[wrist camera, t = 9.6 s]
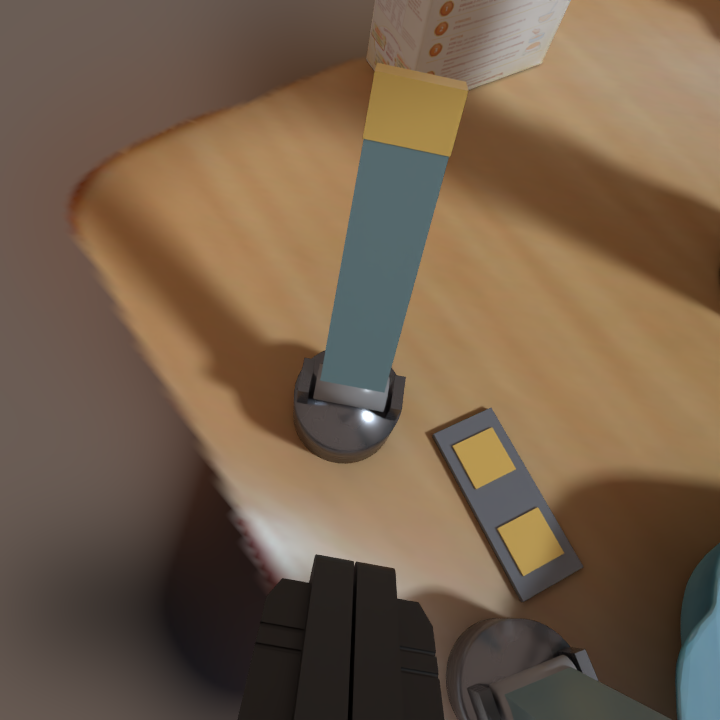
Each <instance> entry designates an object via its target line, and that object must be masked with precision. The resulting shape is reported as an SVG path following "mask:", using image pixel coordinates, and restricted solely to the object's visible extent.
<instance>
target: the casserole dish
mask: <svg viewBox="0 0 720 720" xmlns="http://www.w3.org/2000/svg"><path fill="white" fill-rule="evenodd" d="M681 645H682V647H681V649H680V652H679V655H678V660H677V664H676V677H675V686H676V709H677V720H720V543H719V544H717V545H716V546H715V547H714V548H713V549H712V550H711V551H710V552H708V553H707V554H706V555H705V556H704V558H703V559H702V560H701V561H700V563H699V564H698V565H697V566H696V568H695V569H694V571H693V572H692V574H691V576H690V578H689V580H688V582H687V586H686V589H685V593H684V598H683V603H682V610H681Z"/></svg>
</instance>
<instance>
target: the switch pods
mask: <svg viewBox="0 0 720 720" xmlns="http://www.w3.org/2000/svg"><path fill="white" fill-rule="evenodd" d="M325 351H326V350H325ZM325 351H323V352H321V353H319V354H317V355H316V356H314V357H313V358H312V359H309V358H305V359H304V363H303V368H302V370H301V372H300V374H299V376H298V378H297V381H296V385H295V391H294V410H293V418H294V424H295V428H296V431H297V434H298V436H299V437H300V439H301V441H302V442H303V444H304V445H305V446H306V447H307V448H308V449H309V450H310V451H311V452H313V453H314V454H315V455H317V456H318V457H320V458H322V459H325V460H327V461H331V462H335V463H354V462H358V461H361V460H364V459H366V458H368V457H370V456H371V455H373V454H374V453H376V452H377V451H378V450H379V449H380V448H381V447H382V446H383V444H384V443H385V441H386V440H387V438H388V436H389V435H390V433H391V431H392V430H393V428H394V426H395V425H396V423H397V421H398V419H399V416H400V414H401V410H402V403H403V394H404V386H405V379H406V377H403V376H398V375H396V374H395V372H394V370H393V369H392V368H391V370H390V374H389V379H390V381H389V390H388V395H387V400H386V405H385V408H384V411H383V412H380V411H375V410H370V409H364V408H359V407H354V406H348V405H343V404H338V403H333V402H327V401H322V400H317V399H313V396H314V391H315V385H316V380H317V375H318V370H319V366H320V364H322V365H323V362H324V356H325ZM560 655H565V656H567V657H568V658H569V659H570V660H571V661H572V663H573V664H574V666H575V667H576V669H577V670H578V671H580V672H581V673H583V674H585V675H587V676H589V677H591V678H593V679H595V680H597V681H598V679H597V676H596V674H595V671H594V669H593V667H592V664H591V662H590V659H589V657H588V654H587V652H586V650H585V649H579V648H571V647H570V646H569V645H568V643H567V642H566V641H565V640H564V639H563V638H562V637H561V636H560V635H559V634H557V633H556V632H555V631H554V630H552V629H551V628H549V627H547V626H546V625H543V624H541V623H539V622H536V621H533V620H527V619H504V618H493V619H487V620H483V621H480V622H478V623H476V624H474V625H472V626H471V627H469V628H468V629H467V630H466V631H465V632H464V633H463V634H462V635H461V636H460V637H459V638H458V640H457V641H456V643H455V645H454V647H453V649H452V651H451V653H450V656H449V660H448V664H447V672H446V685H447V692H448V696H449V700H450V703H451V706H452V708H453V711H454V713H455V715H456V716H457V718H458V720H501V717H500V715H499V712H498V709H497V706H496V703H495V701H494V698H493V695H492V692H491V689H490V688H489V684H492V683H494V682H496V681H499V680H501V679H504V678H506V677H509V676H511V675H514V674H516V673H519V672H521V671H523V670H526V669H528V668H531V667H533V666H536V665H538V664H541V663H543V662H546V661H548V660H551V659H553V658H555V657H558V656H560Z"/></svg>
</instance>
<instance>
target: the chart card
mask: <svg viewBox="0 0 720 720" xmlns="http://www.w3.org/2000/svg"><path fill="white" fill-rule="evenodd" d="M432 436H433V438H434V440H435V442H436V444H437V446H438V447H439V449H440V451H441V453H442V455H443V457H444V459H445V461H446V462H447V464H448V466H449V468H450V470H451V472H452V474H453V475H454V477H455V479H456V481H457V483H458V485H459V487H460V489H461V490H462V492H463V494H464V496H465V498H466V500H467V502H468V504H469V505H470V507H471V509H472V511H473V513H474V515H475V517H476V518H477V520H478V522H479V524H480V526H481V528H482V530H483V532H484V533H485V535H486V537H487V539H488V541H489V543H490V545H491V547H492V548H493V550H494V552H495V554H496V556H497V558H498V560H499V561H500V563H501V565H502V567H503V569H504V571H505V573H506V575H507V576H508V578H509V580H510V582H511V584H512V586H513V588H514V590H515V591H516V593H517V595H518V597H519V599H520V601H521V602H524V601H526V600H527V599H529V598H531V597H533V596H534V595H536V594H538V593H539V592H541V591H543V590H545V589H546V588H548V587H550V586H552V585H553V584H555V583H557V582H559V581H560V580H562V579H564V578H565V577H567V576H569V575H571V574H572V573H574V572H576V571H578V570H579V569H581V568H583V565H582V564H581V562H580V560H579V558H578V557H577V555H576V553H575V552H574V550H573V548H572V546H571V545H570V543H569V541H568V539H567V538H566V536H565V534H564V533H563V531H562V529H561V527H560V526H559V524H558V522H557V520H556V519H555V517H554V515H553V514H552V512H551V510H550V508H549V507H548V505H547V503H546V501H545V500H544V498H543V496H542V495H541V493H540V491H539V489H538V488H537V486H536V484H535V482H534V481H533V479H532V477H531V476H530V474H529V472H528V470H527V469H526V467H525V465H524V463H523V462H522V460H521V458H520V457H519V455H518V453H517V451H516V450H515V448H514V446H513V444H512V443H511V441H510V439H509V438H508V436H507V434H506V432H505V431H504V429H503V427H502V425H501V424H500V422H499V420H498V419H497V417H496V415H495V413H494V412H493V410H492V408H489V409H487V410H485V411H483V412H480V413H478V414H476V415H474V416H472V417H470V418H467V419H465V420H463V421H461V422H459V423H457V424H454V425H452V426H450V427H448V428H446V429H444V430H441V431H439V432H437V433H435V434H433V435H432Z"/></svg>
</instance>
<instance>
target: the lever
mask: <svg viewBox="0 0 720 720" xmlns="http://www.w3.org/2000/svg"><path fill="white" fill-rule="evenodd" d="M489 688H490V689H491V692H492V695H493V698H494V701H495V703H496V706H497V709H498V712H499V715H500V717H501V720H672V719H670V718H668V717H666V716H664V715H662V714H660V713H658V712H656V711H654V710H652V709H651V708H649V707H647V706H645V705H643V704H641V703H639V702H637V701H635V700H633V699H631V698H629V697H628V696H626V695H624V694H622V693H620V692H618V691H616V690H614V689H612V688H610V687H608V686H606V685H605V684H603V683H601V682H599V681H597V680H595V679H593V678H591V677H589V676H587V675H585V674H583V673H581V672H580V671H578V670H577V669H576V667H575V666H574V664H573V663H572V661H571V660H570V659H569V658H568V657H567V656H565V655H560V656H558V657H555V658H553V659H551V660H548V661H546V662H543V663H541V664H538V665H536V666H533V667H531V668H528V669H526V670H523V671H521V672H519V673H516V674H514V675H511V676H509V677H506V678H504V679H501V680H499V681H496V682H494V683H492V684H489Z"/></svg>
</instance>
